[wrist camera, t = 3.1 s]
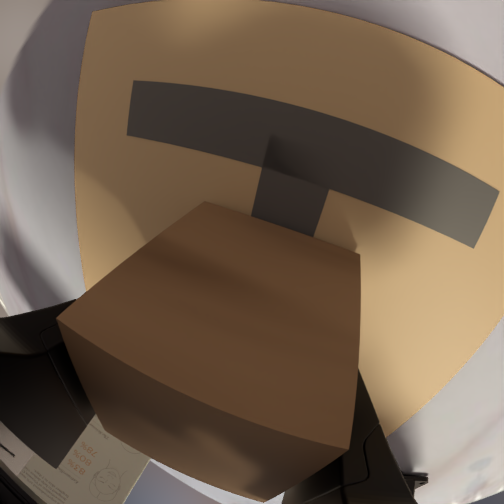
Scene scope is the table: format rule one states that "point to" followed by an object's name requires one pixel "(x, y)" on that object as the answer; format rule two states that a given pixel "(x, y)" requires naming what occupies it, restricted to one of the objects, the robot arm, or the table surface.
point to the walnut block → (225, 350)
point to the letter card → (305, 163)
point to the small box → (87, 470)
